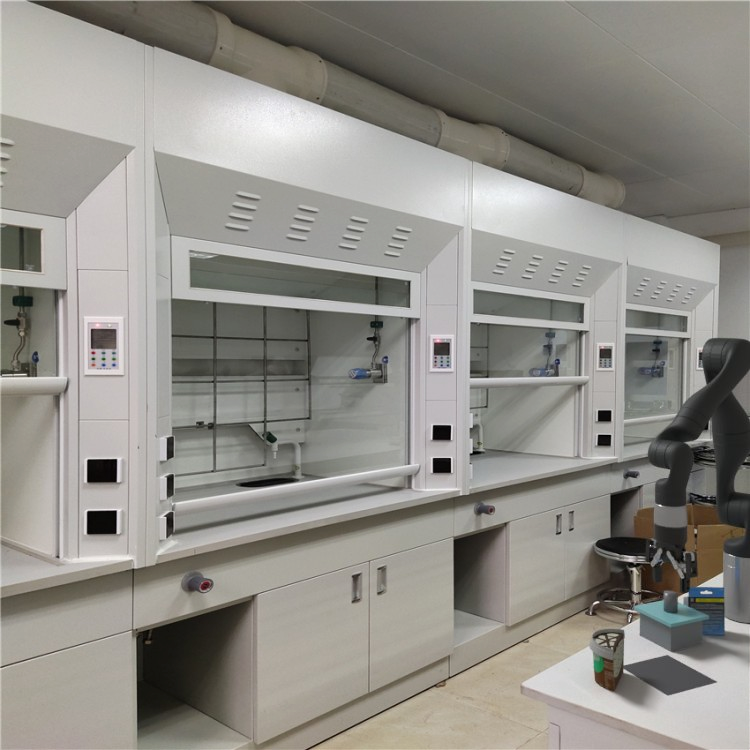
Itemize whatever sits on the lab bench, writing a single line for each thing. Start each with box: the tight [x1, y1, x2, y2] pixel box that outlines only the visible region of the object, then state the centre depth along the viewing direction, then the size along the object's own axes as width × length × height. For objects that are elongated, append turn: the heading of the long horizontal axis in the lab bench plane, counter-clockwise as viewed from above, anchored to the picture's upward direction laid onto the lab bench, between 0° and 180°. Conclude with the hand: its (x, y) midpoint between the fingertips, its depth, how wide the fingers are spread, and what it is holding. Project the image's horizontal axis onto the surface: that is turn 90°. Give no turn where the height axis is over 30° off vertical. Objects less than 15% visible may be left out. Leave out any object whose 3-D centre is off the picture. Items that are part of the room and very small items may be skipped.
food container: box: [588, 628, 626, 692], centre depth 150 cm, size 12×6×10 cm, turn 149°
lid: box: [633, 590, 709, 627], centre depth 169 cm, size 12×12×5 cm
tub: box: [639, 612, 703, 653], centre depth 169 cm, size 10×10×7 cm
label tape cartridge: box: [682, 586, 726, 636], centre depth 175 cm, size 9×4×12 cm, turn 84°
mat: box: [623, 654, 718, 696], centre depth 152 cm, size 14×14×1 cm
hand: (670, 586), depth 169 cm, fingers open, 8 cm apart
